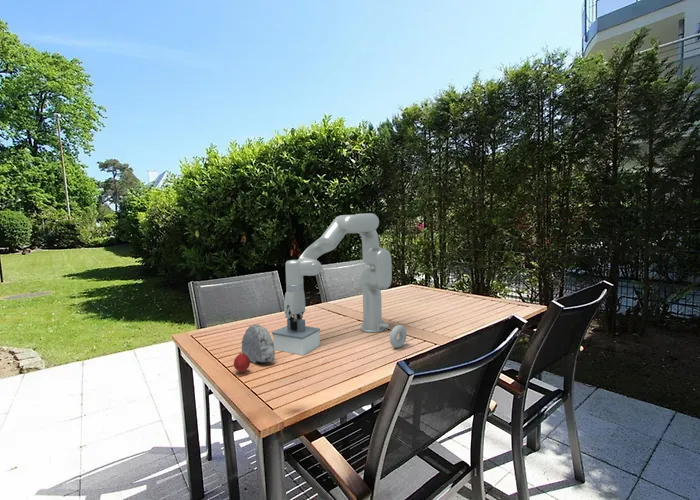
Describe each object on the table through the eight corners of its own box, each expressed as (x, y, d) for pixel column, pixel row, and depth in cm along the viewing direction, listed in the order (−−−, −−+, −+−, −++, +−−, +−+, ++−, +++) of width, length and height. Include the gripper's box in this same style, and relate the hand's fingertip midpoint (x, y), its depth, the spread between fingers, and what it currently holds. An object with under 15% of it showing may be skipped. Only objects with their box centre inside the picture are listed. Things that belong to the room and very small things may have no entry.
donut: (394, 351, 148) (393, 328, 147) (387, 349, 151) (387, 327, 150) (408, 345, 155) (408, 323, 154) (402, 343, 157) (402, 322, 157)
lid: (320, 332, 157) (319, 317, 156) (302, 341, 145) (302, 325, 144) (290, 327, 165) (290, 313, 164) (271, 336, 153) (271, 321, 152)
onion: (236, 369, 133) (235, 349, 132) (251, 368, 133) (250, 348, 133) (232, 376, 127) (231, 355, 126) (248, 375, 128) (247, 354, 127)
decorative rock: (240, 358, 144) (238, 323, 142) (254, 353, 149) (252, 319, 147) (263, 369, 133) (262, 330, 132) (277, 363, 138) (276, 326, 137)
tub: (319, 345, 157) (319, 330, 157) (303, 355, 146) (302, 339, 145) (291, 340, 165) (291, 325, 164) (273, 349, 153) (272, 333, 153)
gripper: (299, 284, 162) (300, 322, 164) (276, 290, 148) (277, 333, 149) (312, 285, 158) (313, 324, 160) (290, 292, 144) (291, 335, 146)
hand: (296, 328), depth 155 cm, fingers open, 3 cm apart
